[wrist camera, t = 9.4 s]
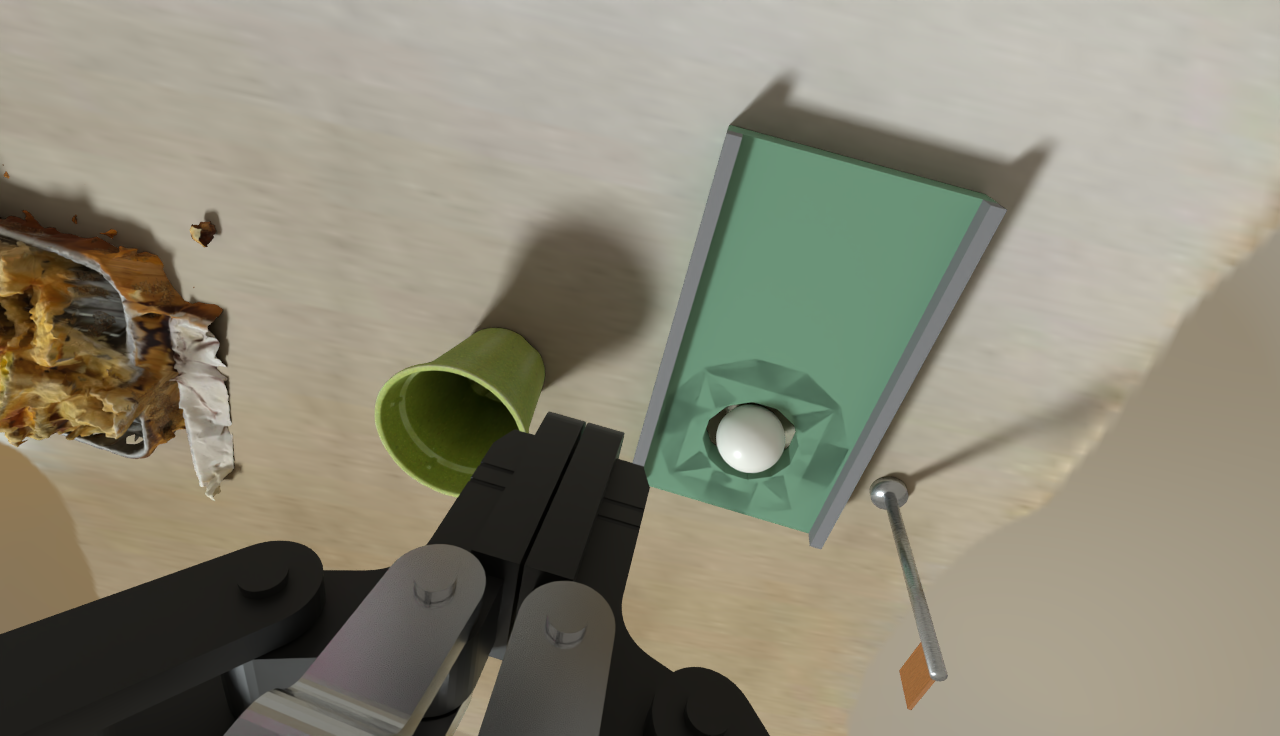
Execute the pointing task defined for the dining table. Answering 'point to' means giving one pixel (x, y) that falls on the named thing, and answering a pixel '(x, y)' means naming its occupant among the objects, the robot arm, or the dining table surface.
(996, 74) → the dining table surface
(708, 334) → the lane
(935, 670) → the pin
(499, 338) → the plant pot
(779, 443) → the ball
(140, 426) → the food tray
